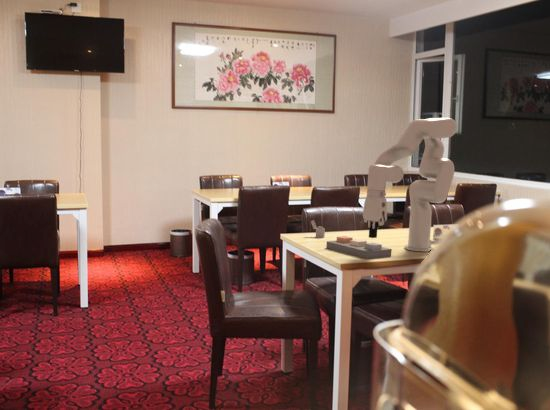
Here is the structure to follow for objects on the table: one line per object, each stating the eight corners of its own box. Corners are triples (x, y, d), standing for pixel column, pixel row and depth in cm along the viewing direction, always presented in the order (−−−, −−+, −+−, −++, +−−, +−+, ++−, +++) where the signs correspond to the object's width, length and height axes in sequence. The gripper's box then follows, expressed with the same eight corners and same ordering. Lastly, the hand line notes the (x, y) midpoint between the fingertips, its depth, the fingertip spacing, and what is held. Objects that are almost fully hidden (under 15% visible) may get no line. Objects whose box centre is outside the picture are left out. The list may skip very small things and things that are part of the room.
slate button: (372, 249, 254) (373, 242, 254) (381, 251, 250) (381, 244, 250) (364, 250, 251) (364, 243, 251) (372, 252, 247) (373, 245, 247)
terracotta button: (344, 242, 269) (345, 236, 268) (352, 244, 265) (352, 237, 264) (336, 243, 266) (336, 236, 265) (343, 245, 262) (344, 238, 261)
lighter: (324, 237, 294) (325, 221, 293) (323, 237, 293) (324, 221, 292) (311, 235, 297) (312, 219, 296) (309, 236, 296) (310, 220, 295)
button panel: (349, 245, 273) (350, 239, 272) (391, 256, 252) (391, 249, 251) (326, 247, 265) (326, 241, 264) (367, 258, 244) (367, 251, 243)
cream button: (358, 246, 261) (358, 239, 261) (366, 247, 257) (366, 241, 257) (350, 246, 258) (350, 240, 258) (357, 248, 254) (358, 241, 254)
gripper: (395, 196, 244) (391, 240, 246) (369, 192, 256) (366, 234, 258) (382, 196, 240) (379, 240, 241) (357, 192, 252) (353, 235, 253)
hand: (372, 237), depth 250 cm, fingers closed
